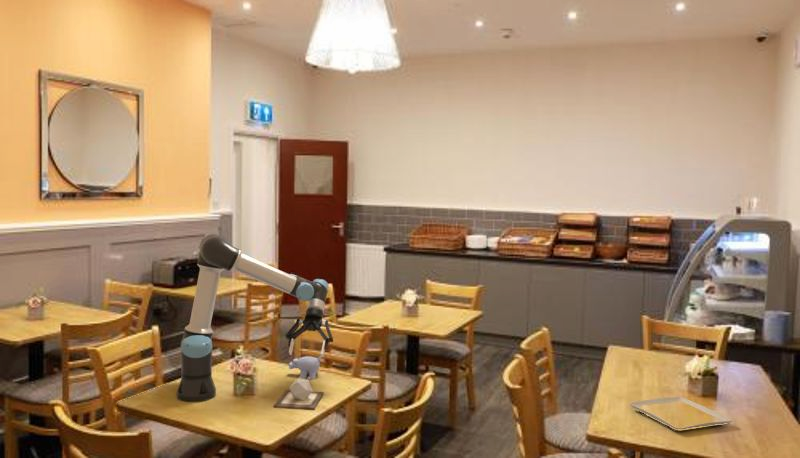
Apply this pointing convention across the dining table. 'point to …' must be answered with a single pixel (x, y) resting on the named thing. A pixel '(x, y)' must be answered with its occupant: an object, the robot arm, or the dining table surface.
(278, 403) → the picture frame
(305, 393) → the die
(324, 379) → the dining table surface
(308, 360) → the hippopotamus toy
